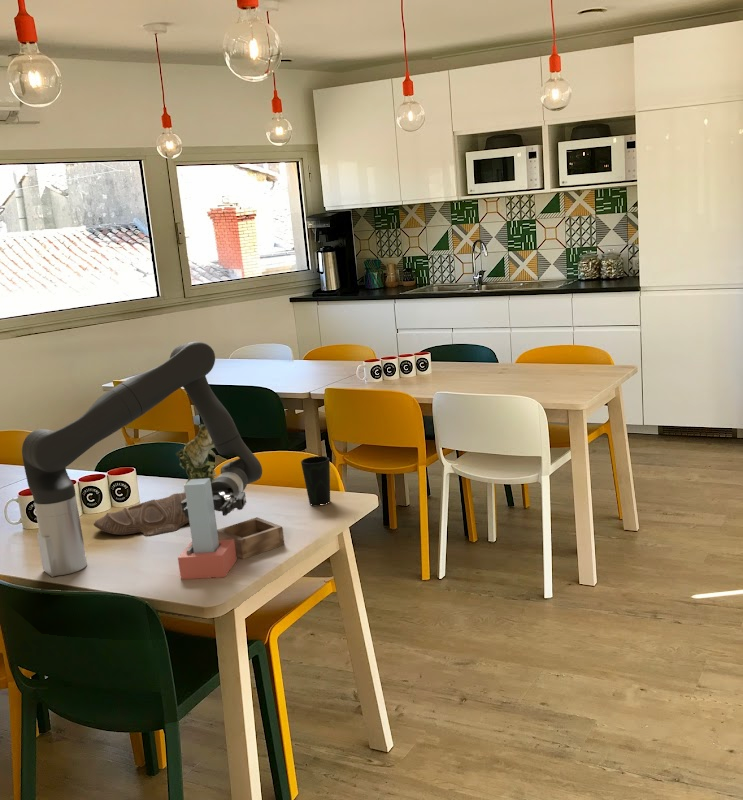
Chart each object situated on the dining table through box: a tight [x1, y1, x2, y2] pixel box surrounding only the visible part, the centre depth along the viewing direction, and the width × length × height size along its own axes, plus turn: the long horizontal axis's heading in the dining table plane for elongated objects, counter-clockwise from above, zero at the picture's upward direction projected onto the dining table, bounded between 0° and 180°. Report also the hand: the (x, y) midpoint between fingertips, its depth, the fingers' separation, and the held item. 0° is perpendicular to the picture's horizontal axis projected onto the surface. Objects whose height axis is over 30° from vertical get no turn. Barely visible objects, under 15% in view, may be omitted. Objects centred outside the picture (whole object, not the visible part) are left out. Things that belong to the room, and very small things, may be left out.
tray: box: [217, 516, 285, 560], centre depth 216 cm, size 11×11×4 cm
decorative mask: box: [93, 492, 190, 537], centre depth 242 cm, size 23×7×30 cm
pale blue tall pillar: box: [183, 478, 219, 553], centre depth 203 cm, size 4×4×20 cm
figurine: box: [175, 423, 218, 493], centre depth 267 cm, size 12×14×20 cm
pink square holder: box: [177, 539, 238, 580], centre depth 204 cm, size 10×10×6 cm
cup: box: [300, 455, 331, 505], centre depth 245 cm, size 8×8×12 cm
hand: (205, 512), depth 205 cm, fingers open, 8 cm apart
